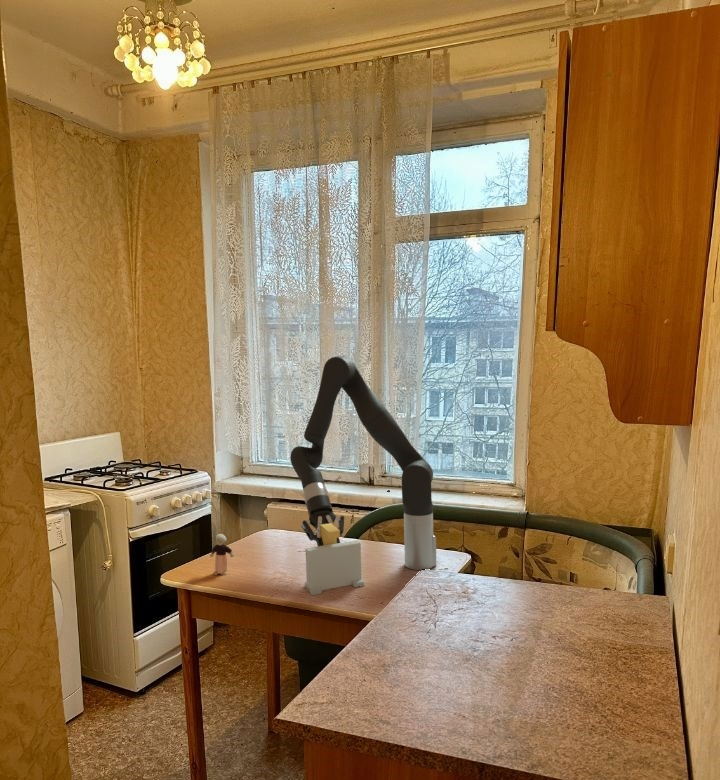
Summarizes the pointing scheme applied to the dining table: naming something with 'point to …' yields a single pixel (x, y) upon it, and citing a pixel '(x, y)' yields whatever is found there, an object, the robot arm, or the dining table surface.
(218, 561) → the grandmother figurine
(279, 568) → the dining table surface
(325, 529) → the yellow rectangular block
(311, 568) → the wall board
